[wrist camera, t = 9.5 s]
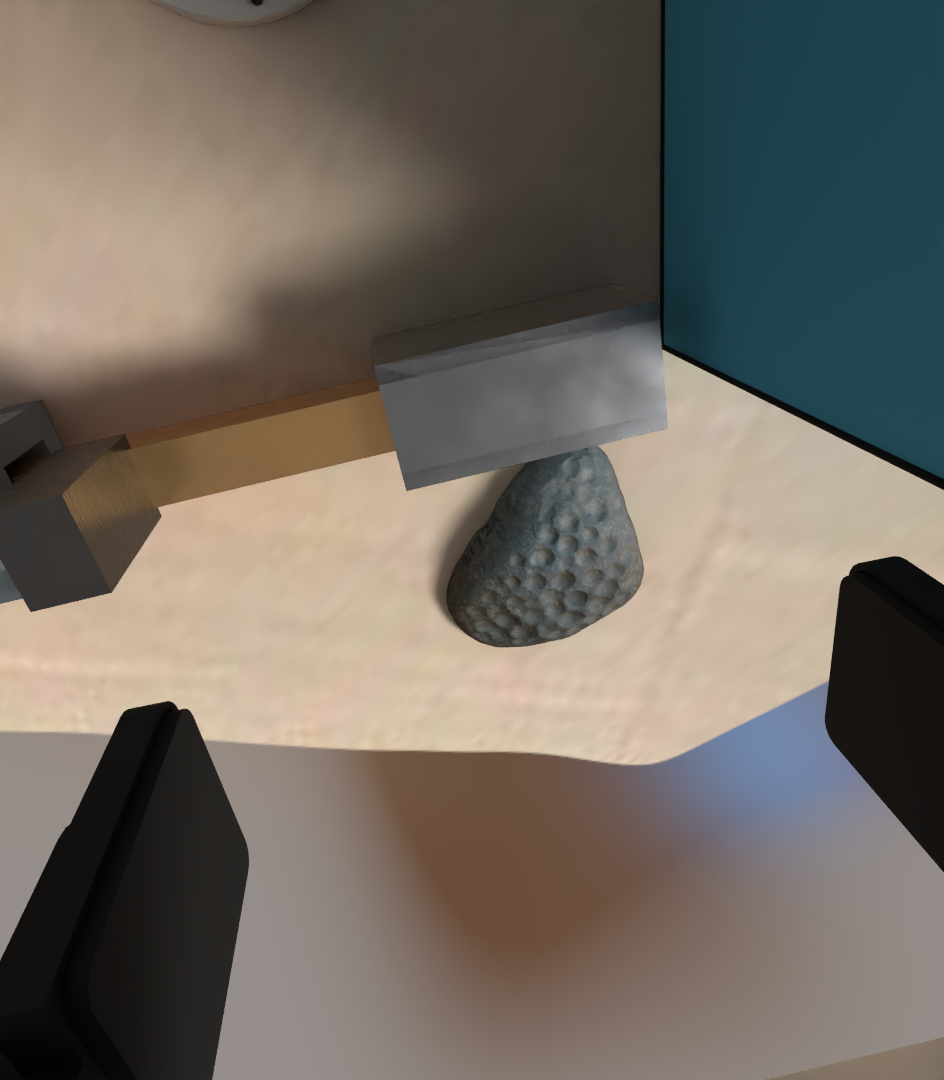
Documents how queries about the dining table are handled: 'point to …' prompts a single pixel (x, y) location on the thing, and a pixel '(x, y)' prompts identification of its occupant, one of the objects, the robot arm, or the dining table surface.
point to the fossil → (548, 555)
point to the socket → (22, 456)
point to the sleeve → (522, 383)
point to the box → (810, 211)
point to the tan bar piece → (165, 483)
